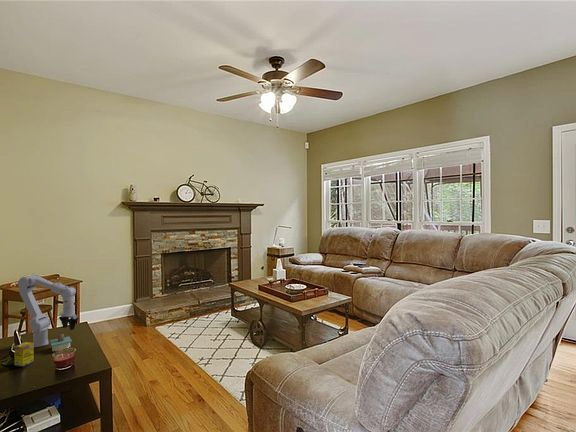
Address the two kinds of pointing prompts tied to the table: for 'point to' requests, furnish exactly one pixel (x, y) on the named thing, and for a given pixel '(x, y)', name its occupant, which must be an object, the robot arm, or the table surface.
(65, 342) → the lid
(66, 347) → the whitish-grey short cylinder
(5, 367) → the table surface
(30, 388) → the table surface
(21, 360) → the supplement box
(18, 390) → the table surface
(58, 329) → the table surface
